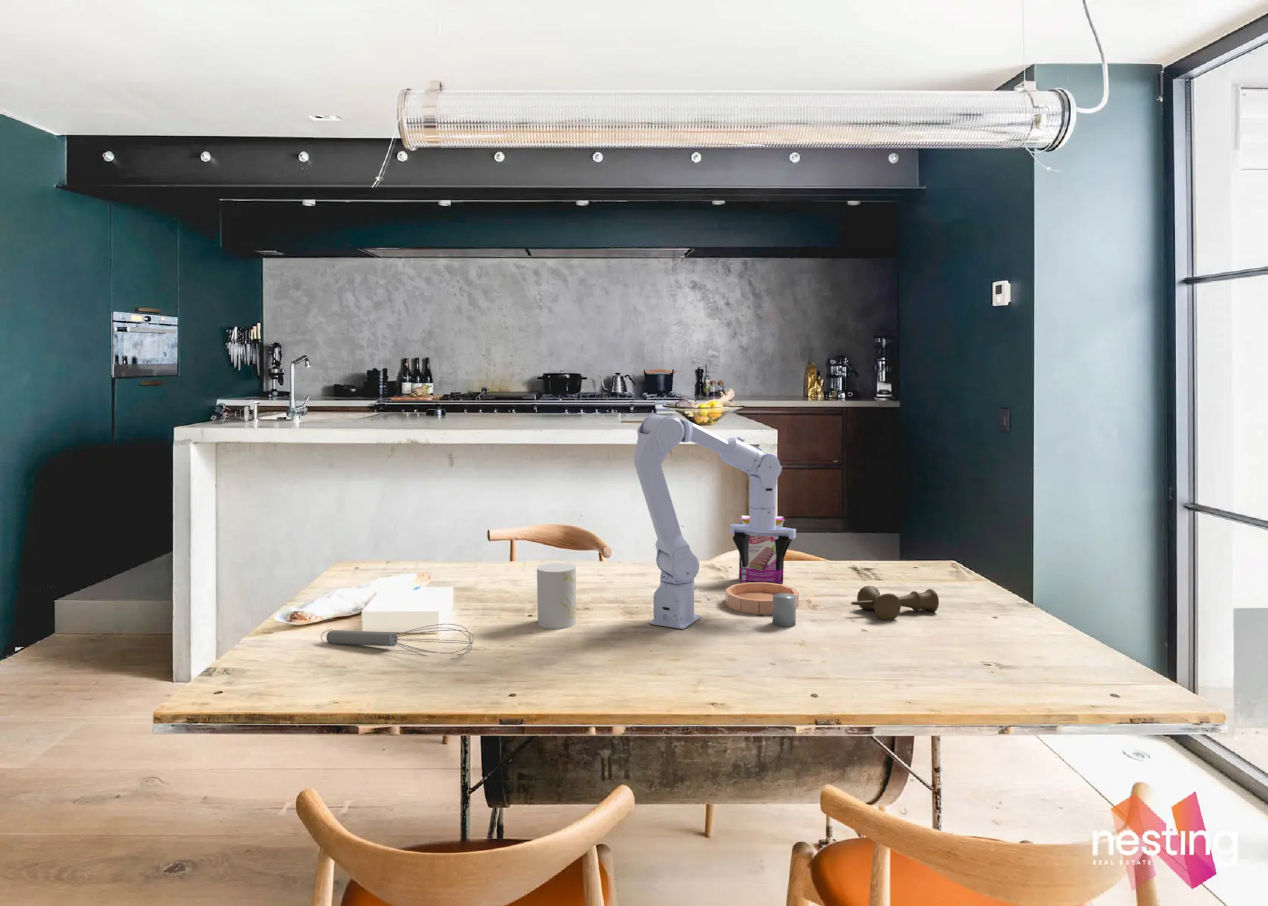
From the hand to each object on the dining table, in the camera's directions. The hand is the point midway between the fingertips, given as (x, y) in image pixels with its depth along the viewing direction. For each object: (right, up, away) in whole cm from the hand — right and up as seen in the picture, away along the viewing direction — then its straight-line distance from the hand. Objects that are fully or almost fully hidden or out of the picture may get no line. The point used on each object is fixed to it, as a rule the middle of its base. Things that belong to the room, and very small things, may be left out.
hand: (761, 568), depth 183 cm
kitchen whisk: (-74, -13, -24) cm, 79 cm away
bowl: (+1, -9, +6) cm, 11 cm away
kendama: (+28, -10, -1) cm, 30 cm away
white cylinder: (-45, -11, -7) cm, 46 cm away
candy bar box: (+4, -7, +27) cm, 28 cm away
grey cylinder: (+3, -11, -9) cm, 14 cm away
